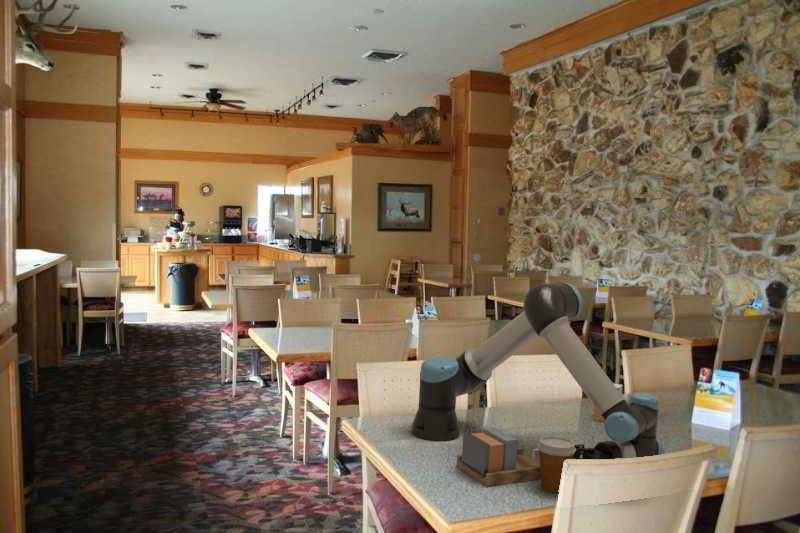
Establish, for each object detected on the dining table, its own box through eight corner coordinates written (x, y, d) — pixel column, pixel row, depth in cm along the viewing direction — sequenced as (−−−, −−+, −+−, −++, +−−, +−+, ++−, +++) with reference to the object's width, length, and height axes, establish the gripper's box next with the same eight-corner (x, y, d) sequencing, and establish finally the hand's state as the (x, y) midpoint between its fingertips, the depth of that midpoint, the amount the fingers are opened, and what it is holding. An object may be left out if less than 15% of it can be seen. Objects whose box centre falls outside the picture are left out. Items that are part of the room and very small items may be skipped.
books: (491, 459, 185) (493, 427, 185) (515, 473, 175) (517, 439, 175) (466, 462, 181) (468, 429, 181) (488, 477, 172) (490, 442, 171)
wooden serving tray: (520, 457, 192) (521, 447, 192) (555, 476, 178) (555, 465, 178) (456, 465, 183) (457, 454, 183) (487, 486, 169) (488, 475, 169)
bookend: (465, 462, 181) (467, 431, 181) (487, 477, 171) (489, 444, 171) (460, 463, 181) (462, 432, 180) (482, 477, 171) (484, 445, 170)
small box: (592, 420, 235) (595, 383, 235) (597, 416, 241) (599, 380, 240) (616, 424, 231) (619, 387, 231) (620, 420, 237) (622, 384, 236)
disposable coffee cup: (566, 481, 175) (570, 437, 175) (577, 496, 166) (581, 449, 165) (531, 480, 175) (534, 435, 174) (539, 495, 166) (543, 447, 165)
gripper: (648, 486, 168) (583, 497, 158) (580, 453, 190) (519, 461, 180) (650, 457, 167) (585, 466, 158) (582, 427, 189) (521, 434, 180)
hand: (550, 463), depth 169 cm, fingers open, 13 cm apart
